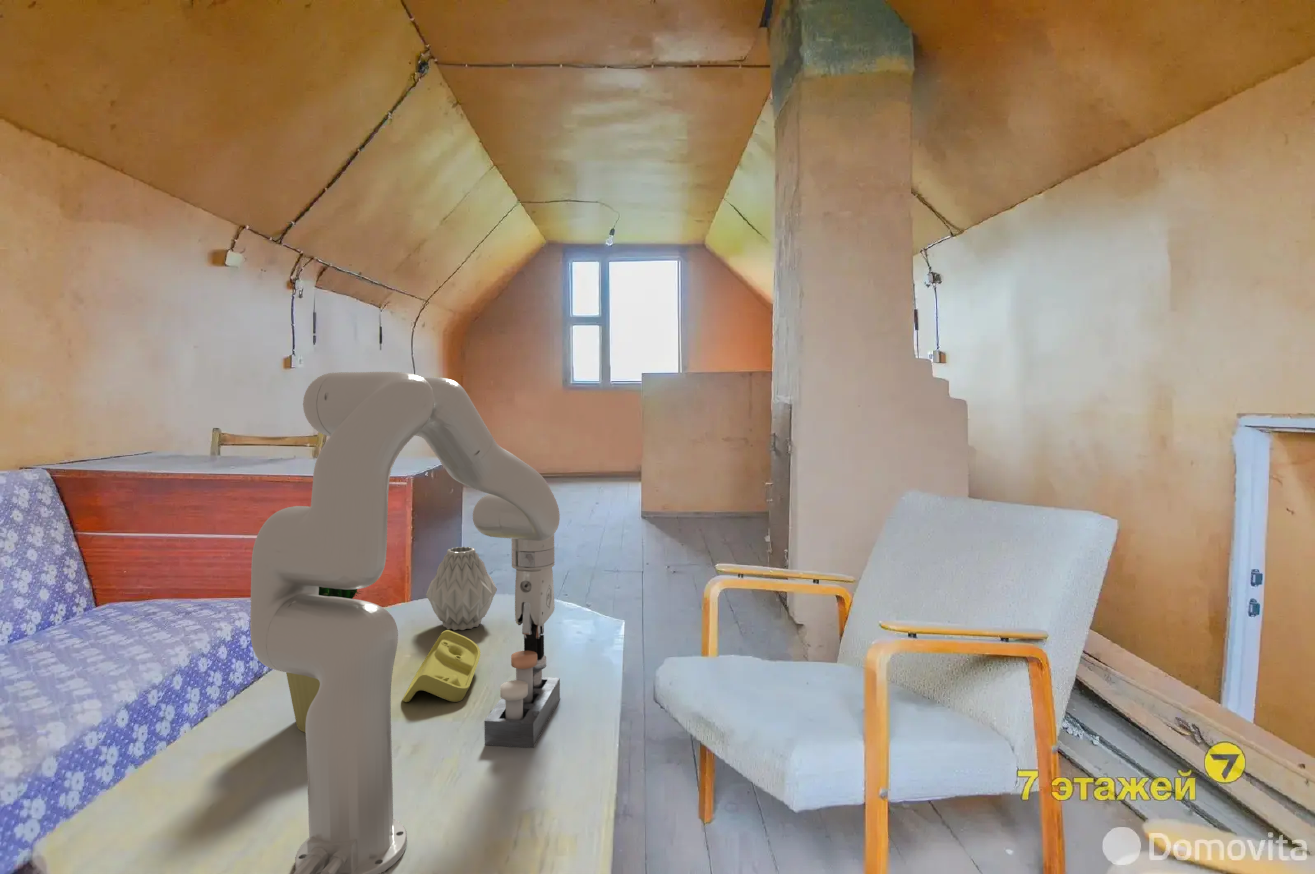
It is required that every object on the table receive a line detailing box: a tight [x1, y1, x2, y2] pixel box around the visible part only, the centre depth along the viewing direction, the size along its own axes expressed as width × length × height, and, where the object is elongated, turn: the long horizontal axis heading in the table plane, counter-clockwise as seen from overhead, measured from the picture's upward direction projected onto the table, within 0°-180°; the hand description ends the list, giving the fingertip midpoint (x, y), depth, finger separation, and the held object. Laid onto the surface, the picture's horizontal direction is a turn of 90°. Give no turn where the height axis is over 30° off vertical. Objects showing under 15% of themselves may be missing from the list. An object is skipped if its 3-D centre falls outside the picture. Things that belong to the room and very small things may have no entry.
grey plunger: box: [533, 654, 547, 689], centre depth 130 cm, size 4×4×8 cm
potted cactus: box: [285, 587, 363, 734], centre depth 124 cm, size 15×15×30 cm
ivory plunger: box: [499, 679, 528, 720], centre depth 118 cm, size 4×4×8 cm
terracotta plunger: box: [510, 650, 537, 704], centre depth 124 cm, size 4×4×8 cm
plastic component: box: [401, 629, 481, 703], centre depth 140 cm, size 20×7×10 cm
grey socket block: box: [483, 676, 561, 749], centre depth 124 cm, size 18×8×4 cm, turn 174°
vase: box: [425, 546, 498, 631], centre depth 173 cm, size 16×16×18 cm
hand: (534, 657), depth 130 cm, fingers closed
